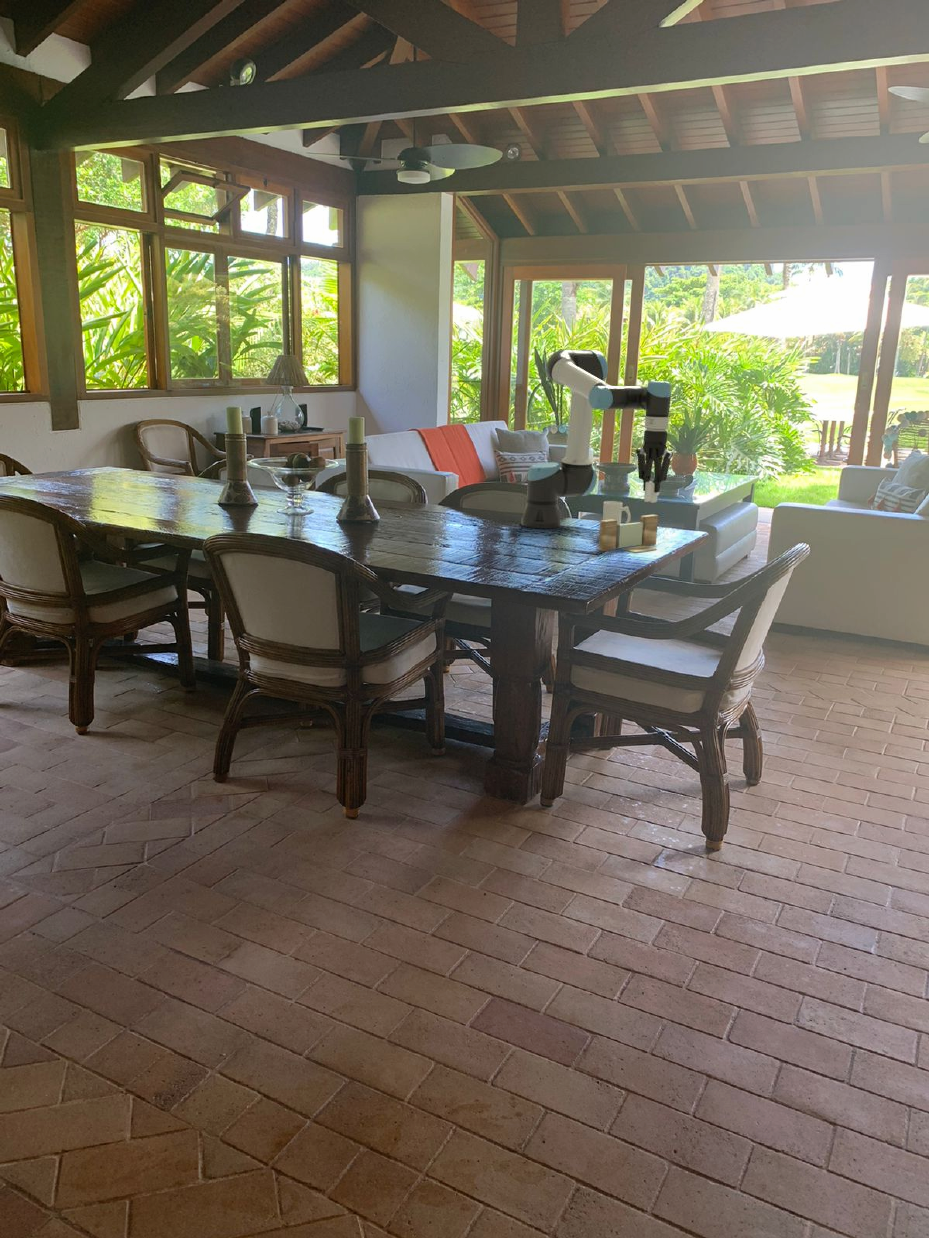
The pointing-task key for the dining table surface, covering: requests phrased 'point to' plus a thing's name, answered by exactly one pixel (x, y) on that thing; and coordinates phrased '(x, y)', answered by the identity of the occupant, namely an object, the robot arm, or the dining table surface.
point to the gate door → (629, 534)
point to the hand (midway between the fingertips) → (650, 501)
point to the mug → (615, 511)
